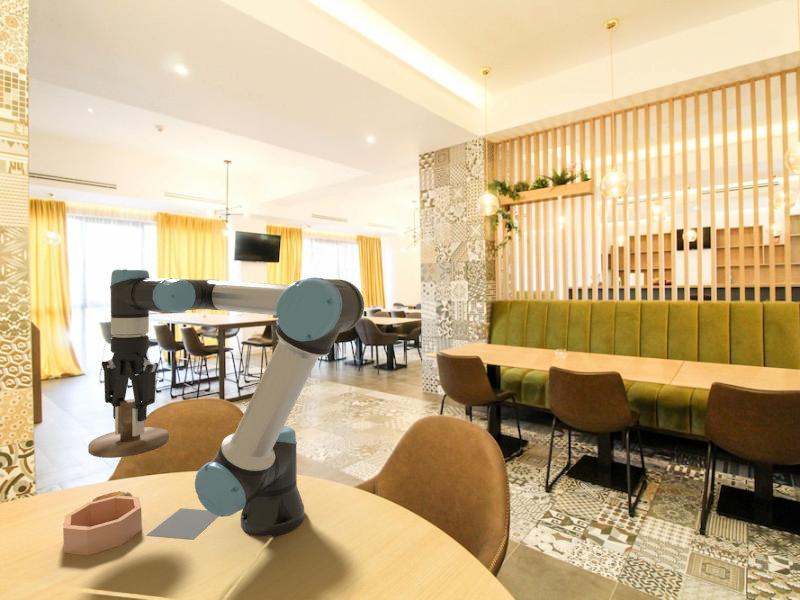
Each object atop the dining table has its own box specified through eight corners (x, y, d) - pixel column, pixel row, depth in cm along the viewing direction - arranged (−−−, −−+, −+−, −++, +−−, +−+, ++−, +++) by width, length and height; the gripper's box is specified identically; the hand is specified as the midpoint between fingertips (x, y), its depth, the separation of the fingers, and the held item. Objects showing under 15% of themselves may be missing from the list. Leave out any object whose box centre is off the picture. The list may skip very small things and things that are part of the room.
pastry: (84, 512, 109) (83, 497, 109) (105, 499, 116) (105, 485, 116) (116, 514, 108) (116, 499, 108) (136, 501, 114) (136, 487, 114)
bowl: (154, 522, 103) (154, 498, 103) (105, 559, 89) (104, 531, 89) (103, 517, 106) (102, 494, 105) (47, 553, 91) (46, 526, 91)
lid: (183, 435, 106) (183, 395, 105) (132, 461, 90) (132, 414, 89) (128, 429, 108) (128, 390, 108) (69, 453, 93) (69, 408, 92)
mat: (223, 513, 107) (223, 511, 107) (193, 542, 95) (193, 539, 95) (180, 510, 109) (180, 508, 109) (146, 537, 97) (146, 535, 97)
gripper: (173, 334, 100) (173, 431, 101) (112, 331, 103) (112, 425, 104) (149, 338, 93) (149, 442, 94) (84, 335, 96) (84, 435, 97)
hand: (129, 433), depth 99 cm, fingers closed on lid, 4 cm apart
